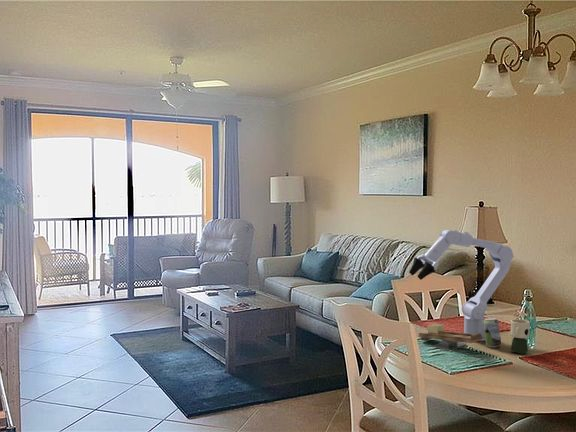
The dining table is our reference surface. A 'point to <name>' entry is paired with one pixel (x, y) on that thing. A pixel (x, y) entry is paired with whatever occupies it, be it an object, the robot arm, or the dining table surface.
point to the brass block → (436, 329)
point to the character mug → (520, 335)
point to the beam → (452, 337)
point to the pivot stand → (449, 345)
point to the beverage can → (492, 332)
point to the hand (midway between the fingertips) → (414, 276)
